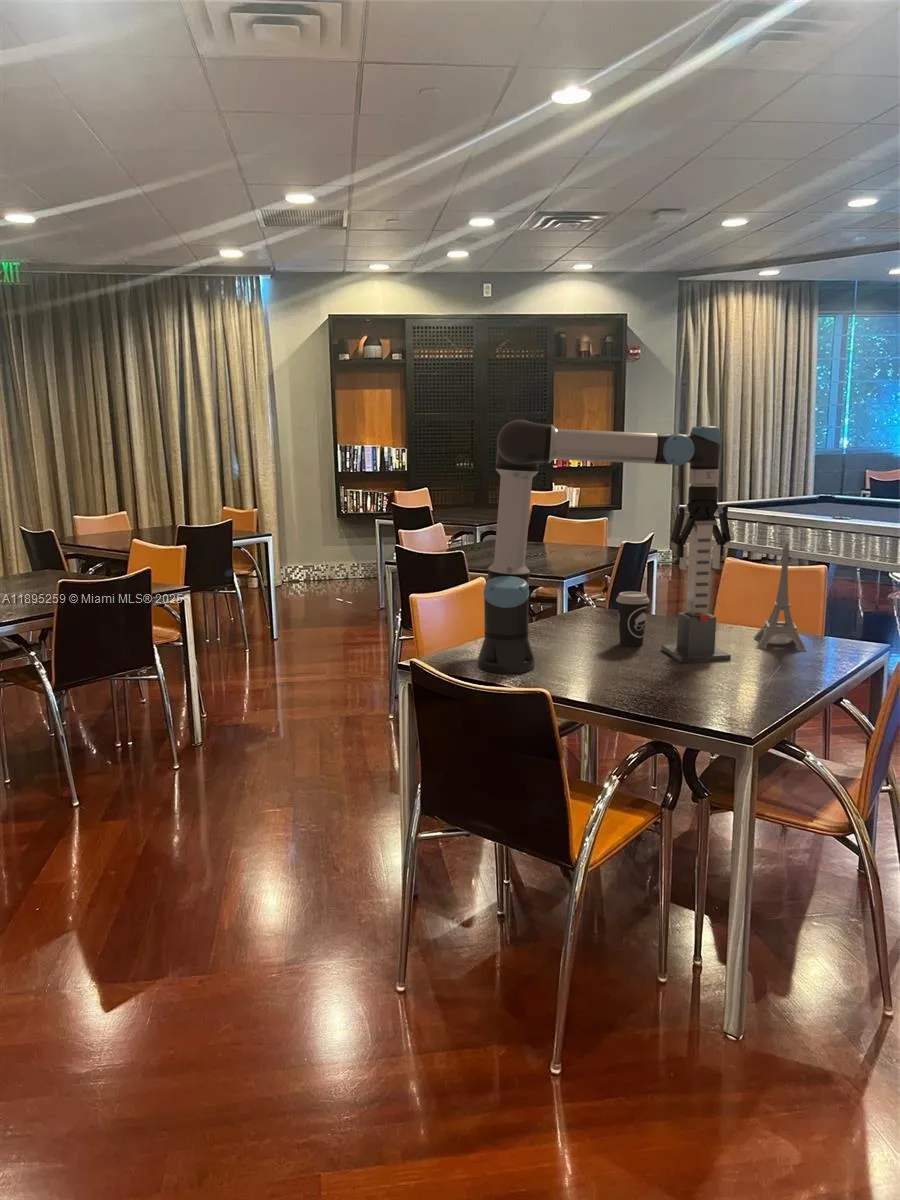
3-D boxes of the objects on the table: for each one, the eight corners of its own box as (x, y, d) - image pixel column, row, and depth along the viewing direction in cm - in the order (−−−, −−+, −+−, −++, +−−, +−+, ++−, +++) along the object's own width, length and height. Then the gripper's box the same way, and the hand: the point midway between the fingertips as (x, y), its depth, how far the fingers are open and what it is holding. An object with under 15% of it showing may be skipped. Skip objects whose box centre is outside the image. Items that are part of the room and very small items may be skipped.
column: (691, 620, 222) (695, 521, 217) (682, 616, 228) (686, 518, 223) (712, 620, 223) (717, 520, 218) (702, 615, 229) (707, 518, 224)
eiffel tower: (753, 638, 246) (759, 539, 240) (800, 640, 243) (808, 540, 237) (756, 649, 234) (763, 545, 228) (807, 652, 230) (815, 546, 224)
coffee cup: (645, 640, 245) (647, 591, 242) (650, 648, 235) (652, 597, 232) (613, 639, 246) (614, 590, 243) (616, 647, 236) (618, 597, 233)
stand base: (681, 663, 220) (683, 618, 218) (661, 649, 234) (663, 607, 231) (730, 660, 222) (733, 616, 219) (707, 647, 235) (710, 605, 233)
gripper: (670, 486, 213) (666, 572, 218) (748, 485, 216) (743, 569, 221) (659, 485, 221) (656, 567, 225) (734, 483, 223) (730, 565, 228)
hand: (699, 568), depth 223 cm, fingers open, 9 cm apart
